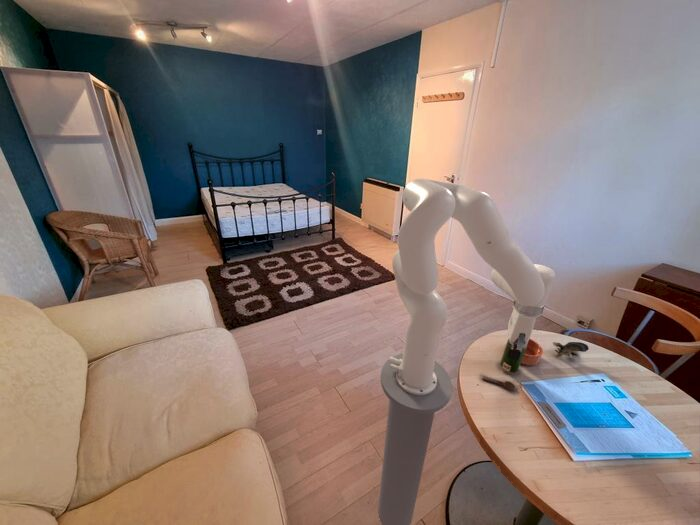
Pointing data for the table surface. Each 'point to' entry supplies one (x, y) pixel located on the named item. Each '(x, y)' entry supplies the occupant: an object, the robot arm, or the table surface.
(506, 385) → the spoon
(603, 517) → the table surface
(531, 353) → the bowl
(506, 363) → the beer can
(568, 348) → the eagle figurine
